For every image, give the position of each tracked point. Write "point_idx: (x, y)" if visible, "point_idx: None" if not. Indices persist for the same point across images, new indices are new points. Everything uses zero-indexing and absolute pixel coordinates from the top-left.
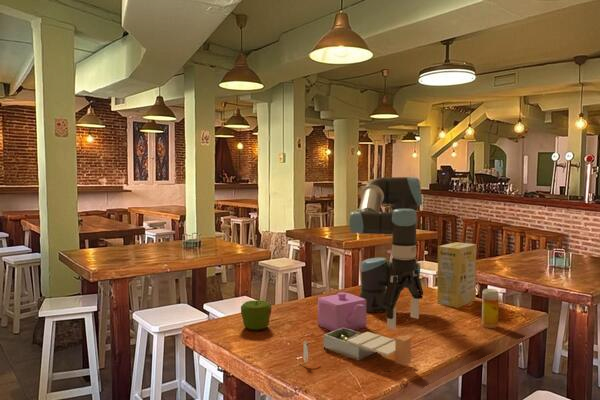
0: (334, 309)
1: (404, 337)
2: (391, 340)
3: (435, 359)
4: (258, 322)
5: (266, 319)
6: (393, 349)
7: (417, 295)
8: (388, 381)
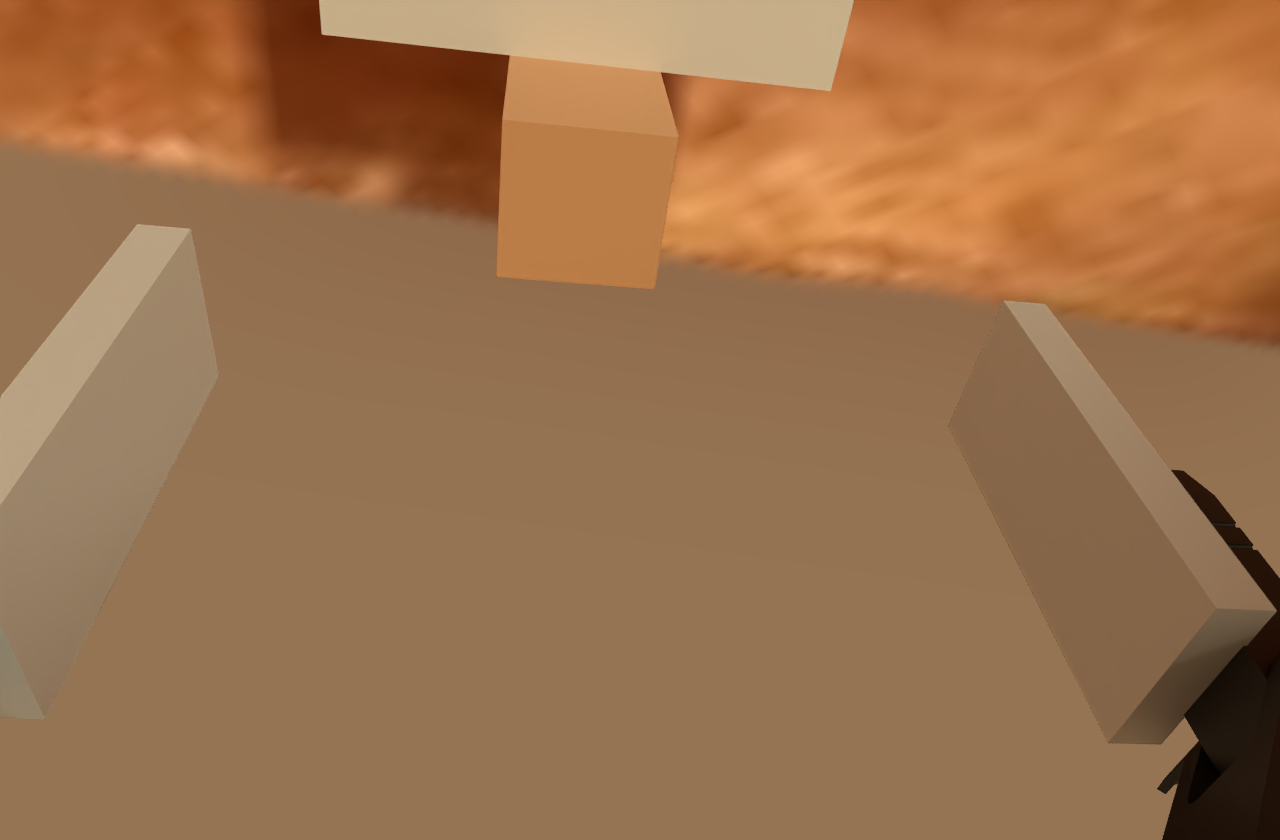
0: None
1: (625, 211)
2: None
3: (972, 220)
4: None
5: None
6: (519, 19)
7: (1165, 832)
8: (199, 79)
